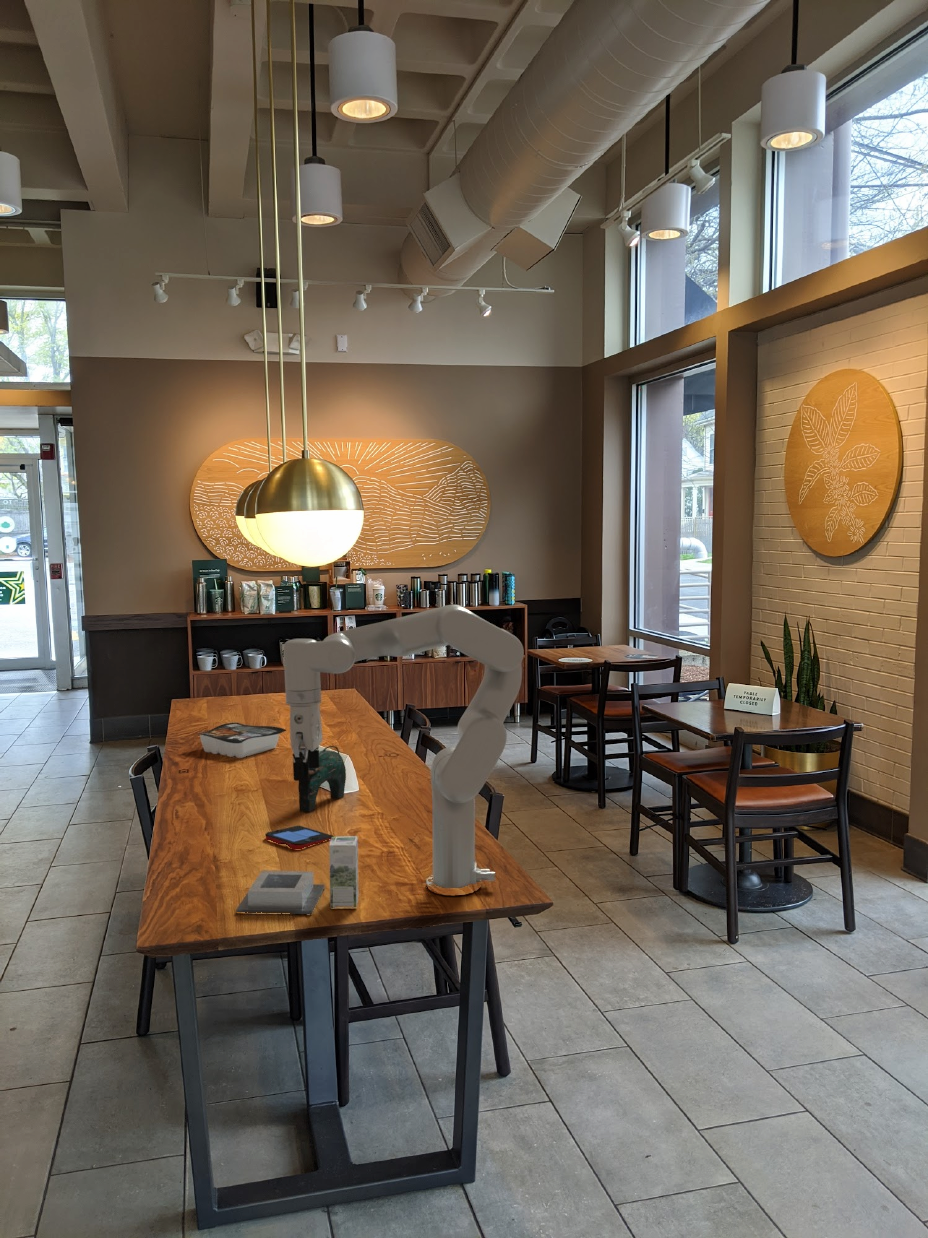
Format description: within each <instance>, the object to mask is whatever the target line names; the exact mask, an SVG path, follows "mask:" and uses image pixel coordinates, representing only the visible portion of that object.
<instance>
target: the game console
mask: <svg viewBox="0 0 928 1238" xmlns="http://www.w3.org/2000/svg"><path fill="white" fill-rule="evenodd" d="M332 837H335V836H334V835H332V834H328V833H325V832H322V831H319V830H317V829H312V828H309V827H305V826H302V825H294V826H290V827H285V828H281V829H276V830H273V831H267V832H266V833H265V840H266V839H267V840H271V841H273V842H276V843H278V844H286V845H288V846H289V847H290V848H292V849H302V848H304V847H308V846H310V845H313V844H318V843H320V842H323V841H325V840H329V839H331V838H332ZM318 845H319V844H318ZM292 849H291V850H292Z"/></svg>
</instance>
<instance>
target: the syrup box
mask: <svg viewBox="0 0 928 1238" xmlns="http://www.w3.org/2000/svg"><path fill="white" fill-rule="evenodd" d="M358 841H359V839H358V836H351V835H350V836H349V835H348V836H347V835H346V836H344V835H343V836H334V837H332V838H331V840H330V842H329V847H328V852H329V853H328V854H329V856H328V857H329V902H330V904H329V905H330V908H335V907H357V908H358V904H357V903H359V899H358V897H359V896H360V894H359V844H358V843H359V842H358ZM330 908H329V909H330Z"/></svg>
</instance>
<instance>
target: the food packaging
mask: <svg viewBox="0 0 928 1238" xmlns="http://www.w3.org/2000/svg"><path fill="white" fill-rule="evenodd" d="M286 731H287V729H285V728H283V727H279V726H269V725H248V724H242V723H239V722H227V723H223V724H220V725H218V726H216V727H213V728H211V729H209V730H207V731H204V732H199V733H197V735H199V737H200V741H201V745H202V747H203V751H204V752H205V753H211V754H213V755H218V754H220V755H221V756H227V757H230V758H234V757H236V758H237V759H243V758H246V756H247V757H250V756H252V755H256V754H257V755H258V754H259V753H263V752H266V751H270V750H273V749H275V748H276V747H277V745H278V742H279V739H280V738H279V737H280V735H281V734H282V733H284V732H286Z"/></svg>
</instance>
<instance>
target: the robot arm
mask: <svg viewBox="0 0 928 1238" xmlns="http://www.w3.org/2000/svg"><path fill="white" fill-rule="evenodd" d="M446 646H450V647H451V648H453V649H455V650H457V651H458V652H461V654H464V655H466V657H467V656H468V657H469V658H471V659H473V660H474V661H477V662H479V663H481V664H482V665H484V671H483V672H484V674H483V677H482V681H481V682H480V685H479V686H478V688H477V690H476V692H475V693H474V696H473V697H472V699H471V701H470V703H469V704H468V706H467V707H466V709H465V711H464V713H463V714H462V716H461V717H460V719H459V721H458V723H457V731H456V732H457V735H458V738H459V740H458V742H457V744H456V746H450V747H448V746H447V747H444V748H443V749H441V750H440V751H439V752H437V753H436V754H435V756H434V758H433V760H432V762H431V768H430V782H431V783H430V784H431V797H432V798H431V799H432V801H431V802H432V874H431V876H433V877H430V876H429V877H428V878H426V881H425V885H426V884H427V885H428V886H430V887H431V886H434V885H429V884H433V883H434V884H435V885H436V886H439V887H442V888H462V887H465V886H468V885H470V884H476V882H481V880H482V881H487V882H489V881H490V882H494V881H496V874H495V873H496V872H495V871H491V870H490V869H489V868H483V869H482V868H479V867H478V865H477V864H478V863H477V862H476V852H475V851H476V828H475V827H476V803H475V801H476V800H475V797H476V796H477V795H478V794H479V793H480V791H481V790H482V789H483V787H484V786H485V784H486V782H487V780H488V778H489V777H490V775H491V774H492V772H493V770H494V768H495V766H496V764H497V762H498V761H500V760H499V759H500V758H501V756H502V754H503V752H504V750H505V747H506V744H507V739H508V738H507V730H506V726H505V725H504V722H505V720H506V718H507V717H508V714H509V713H510V710H511V709H512V707H513V705H514V703H515V701H516V699H517V697H518V695H519V691H520V689H521V687H522V686H521V685H522V678H523V668H522V667H523V666H522V661H523V659H524V655H525V654H524V652H525V651H524V646H523V644H522V642H521V641H520V639H519V638H518V637H517V636H515V635H514V634H512V633H511V632H509V631H507V630H506V629H503V628H500V627H498V626H496V625H495V624H493V623H490V622H489V621H487V620H485V619H484V618H482V617H480V616H479V615H477V614H475V613H474V612H472V611H470V610H469V609H468V608H465V607H463V606H462V605H460V604H448V605H444V606H443V605H442V606H440V607H435V608H431V609H427V610H424V611H423V610H422V611H421V612H416V613H412V614H408V615H405V616H401V617H395V618H392V619H388V620H387V619H386V620H383V621H381V622H380V621H379V622H375V623H370V624H367V625H362V626H358V627H354V628H349V629H346V630H342V631H338V632H335V633H332V634H330V635H328V636H326V637H325V638H324V639H323V640H321V641H317V640H316V639H313V638H295V639H289V640H287V641H286V642H285V643H284V645H283V666H284V668H283V669H284V686H285V688H284V689H285V690H284V691H285V705H286V706H289V735H290V747H291V751H292V752H293V753H292V768H293V780H294V781H295V782H299V781H308V780H309V768H319V766H320V764H319V751H320V750H319V748H320V745H321V744H322V742H323V738H324V737H323V727H322V717H321V716H322V715H321V706H320V704H321V703H322V689H321V688H322V686H321V685H322V684H321V673H323V674H324V673H325V674H335V675H336V674H343V673H345V672H348V671H350V669H351V668H353V666H354V664H355V663H356V662H359V661H362V660H367V659H371V658H377V657H396V658H398V657H399V658H401V657H408V656H413V655H415V654H420V653H422V652H426V651H429V650H433V649H438V648H441V647H442V648H443V647H446ZM302 752H304V756H303V753H302ZM432 878H433V880H431V881H433V882H429V880H428V879H432ZM431 888H432V887H431ZM434 888H437V887H434Z"/></svg>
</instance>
